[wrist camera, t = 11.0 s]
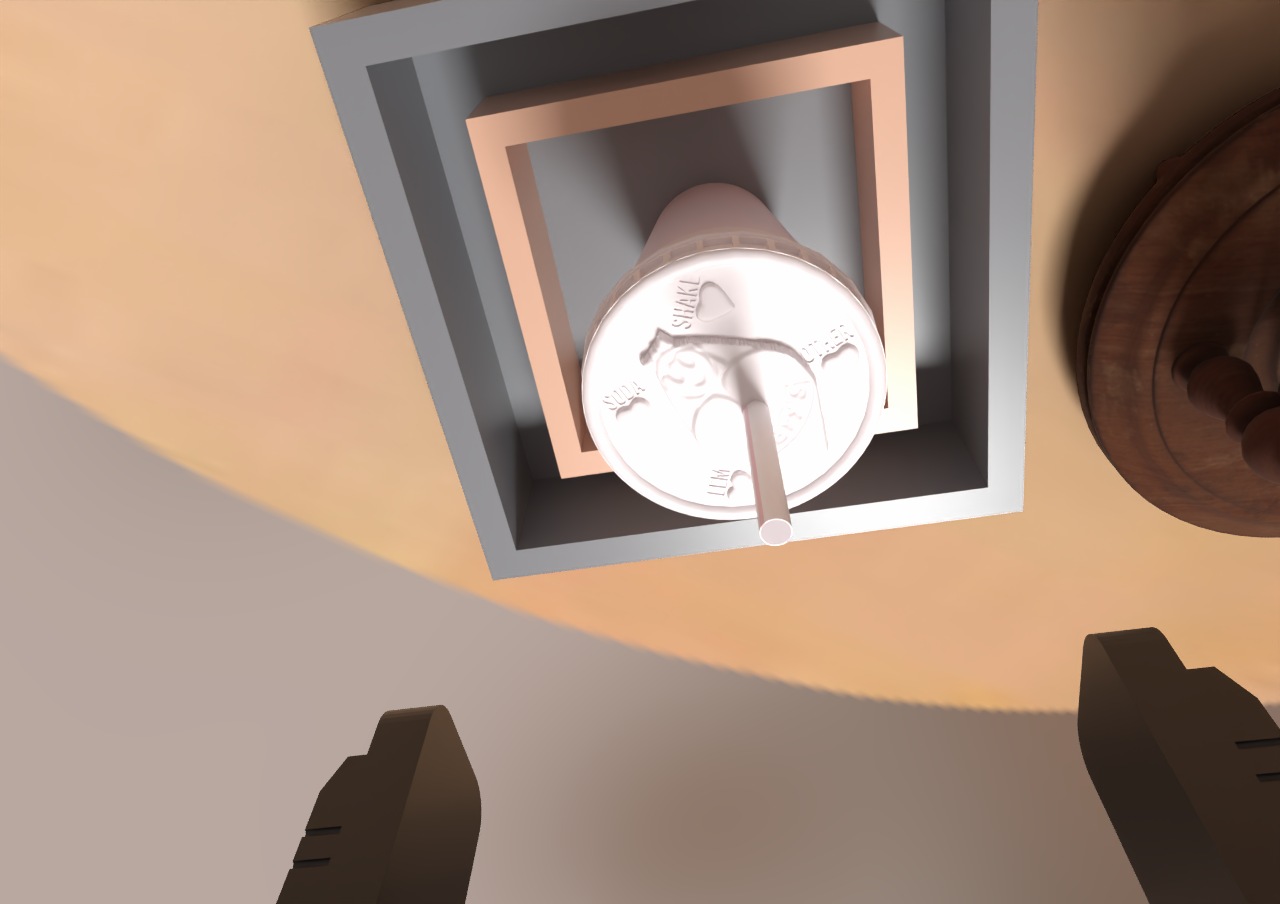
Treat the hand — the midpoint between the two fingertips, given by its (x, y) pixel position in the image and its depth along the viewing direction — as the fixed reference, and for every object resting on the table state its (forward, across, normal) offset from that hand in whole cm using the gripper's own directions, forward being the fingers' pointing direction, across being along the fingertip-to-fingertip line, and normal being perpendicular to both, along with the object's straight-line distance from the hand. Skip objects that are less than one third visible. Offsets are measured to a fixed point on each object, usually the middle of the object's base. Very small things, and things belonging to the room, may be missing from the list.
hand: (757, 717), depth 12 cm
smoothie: (+18, 0, 0) cm, 18 cm away
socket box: (+19, 0, 0) cm, 19 cm away
